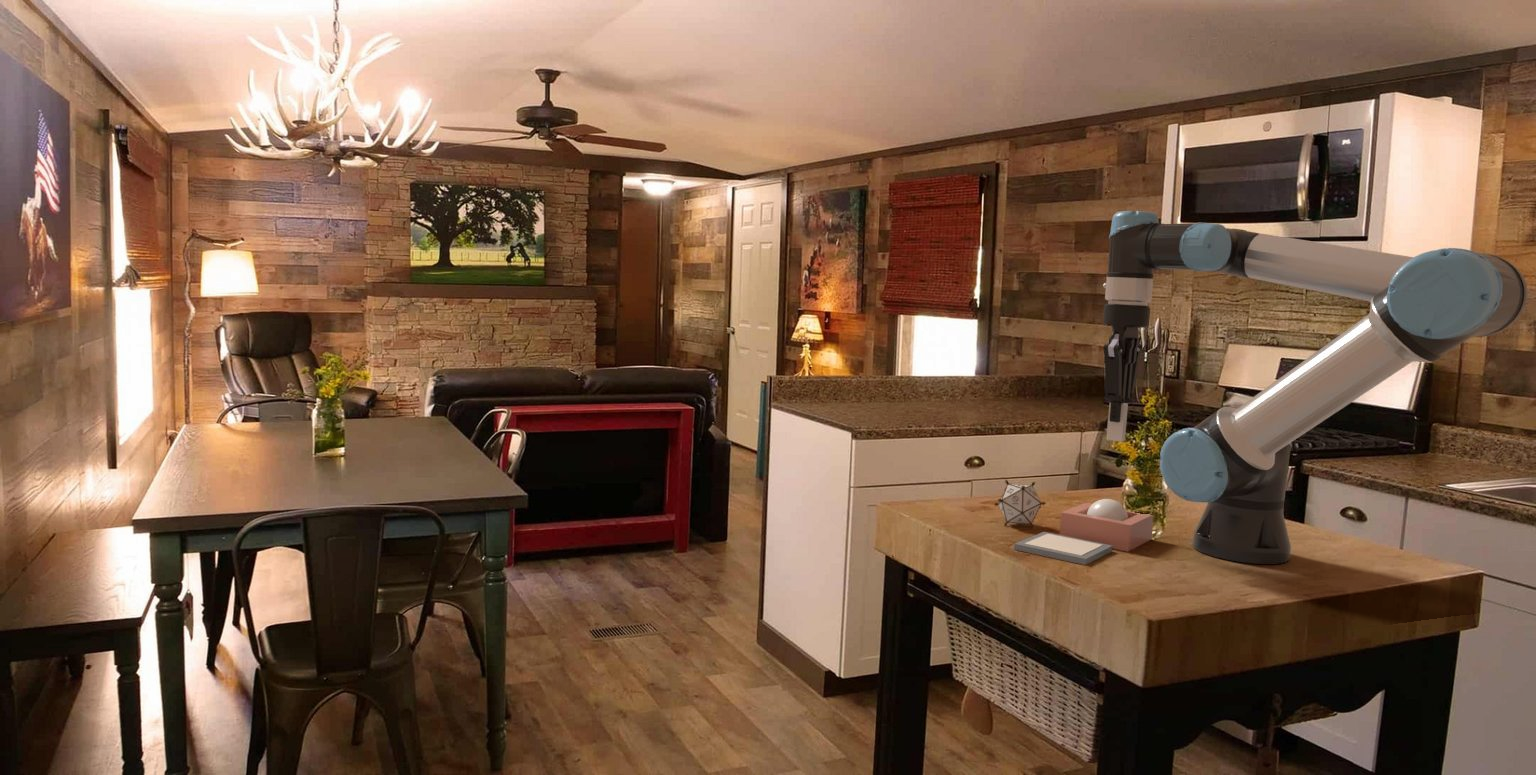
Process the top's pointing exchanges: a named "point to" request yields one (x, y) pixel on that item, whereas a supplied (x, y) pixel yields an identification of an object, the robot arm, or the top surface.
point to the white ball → (1108, 510)
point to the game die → (1019, 503)
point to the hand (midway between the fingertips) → (1115, 440)
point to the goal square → (1063, 548)
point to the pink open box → (1107, 528)
